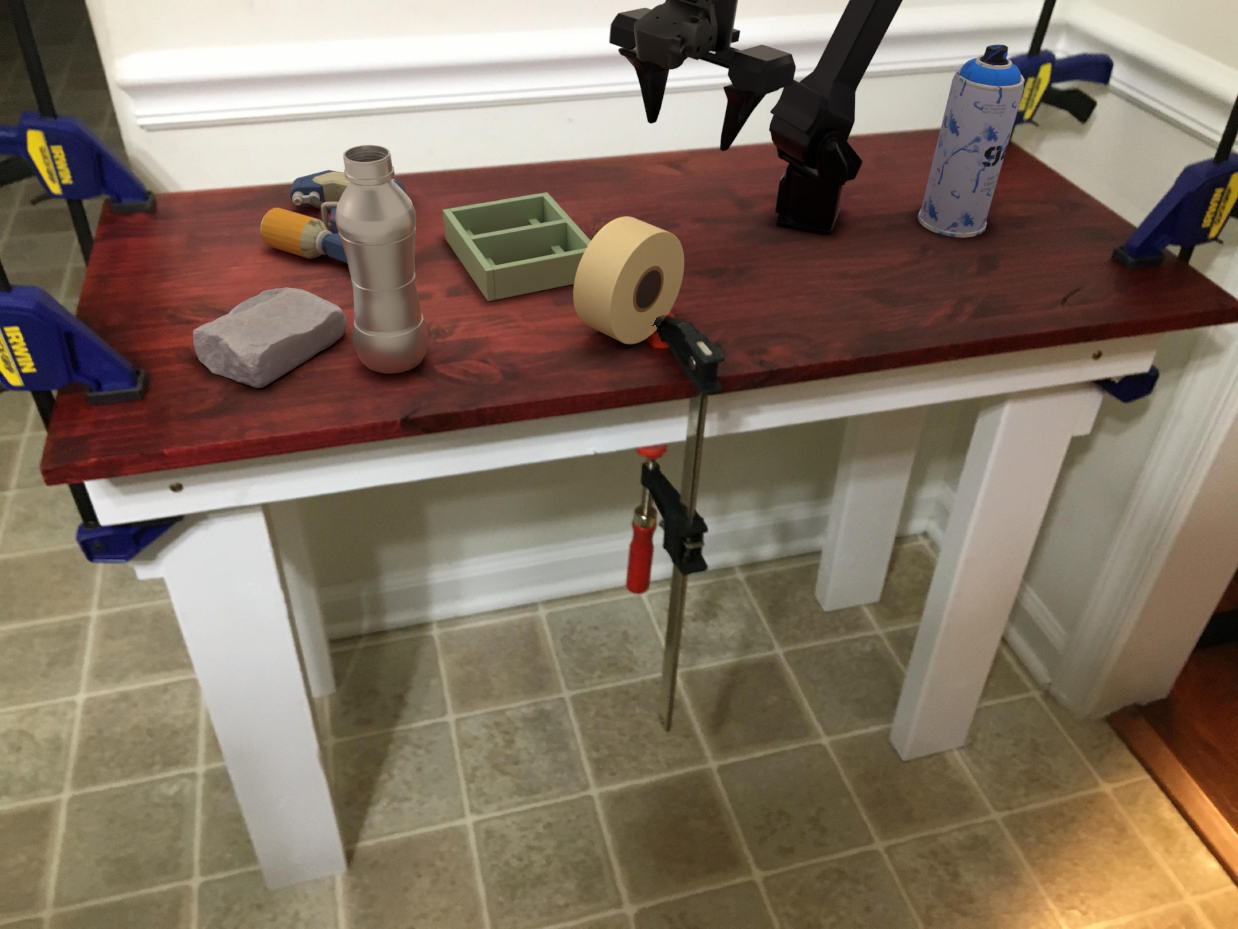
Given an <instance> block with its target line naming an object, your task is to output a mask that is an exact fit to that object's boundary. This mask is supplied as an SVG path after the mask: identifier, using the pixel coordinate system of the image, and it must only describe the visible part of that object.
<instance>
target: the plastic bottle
mask: <svg viewBox="0 0 1238 929" xmlns="http://www.w3.org/2000/svg"><path fill="white" fill-rule="evenodd" d="M342 160H343V164H344V170H343V171H344V172H343V173H344V174H345V178H346V179H347V180H348V181H349V182H350V183H349V184H348V186H347V188H346V189H345V191H344V192H343V194H342V196H341V198H340V200H339V203H338V205H337V209H336V215H335V220H336V224H337V229H338V231H339V235H340V238H341V241H342V245H343V248H344V251H345V254H346V257H347V262H348V264H347V265H348V266H347V268H348V271H349V276H350V281H351V285H352V294H353V313H354V315H353V316H354V319H353V326H352V340H353V341H352V344H353V347H354V349H355V352H356V355H357V358H358V359H359V361H360V362H361V363H362V364H363V365H364V366H365V367H367V368H368V369H369V370H371V371H373V372H377V373H379V374H389V375H390V374H400V373H404V372H407V371H410V370H412V369H415V368H416V367H418V366H419V365H420V364H421V363H422V361H423V359H424V358H425V357H426V355H427V353H428V350H429V349H428V348H429V338H430V336H429V331H428V327H427V324H426V319H425V317H424V315H423V313H422V307H421V303H420V298H419V292H418V287H417V282H416V262H415V261H416V260H415V259H416V258H415V251H416V234H417V211H416V209H415V207H414V206H415V205H414V204H413V202H412V199H411V197H409V196H408V194H407V193H405V192H406V191H405V192H404V191H403V190H402V189H401V188H400V187H399V186H398V185H397V184H396V183H395V182H394V181H393V180H392V179H394V177H395V175H396V174H395V167H394V165H393V161H392V160H393V159H392V153H391V151H390V150H389V149H388V148H387V147H385V146H382V145H376V144H363V145H355V146H353V147H349V148H348V149H346V150H345V151H344V152H343V155H342Z"/></svg>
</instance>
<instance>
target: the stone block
mask: <svg viewBox="0 0 1238 929" xmlns="http://www.w3.org/2000/svg"><path fill="white" fill-rule="evenodd" d="M347 318H348V317H347V316H346V314H345V312H344V311H343V310H342V309H341V307H339V306H338V305H337V304H335V303H332V302H330V301H328V300H326V299H324V298H322V297H320V296H318V295H316V294H314V293H311V292H310V291H307V290H304V289H302V288H292V287H286V286H285V287H281V288H278V287H277V288H275V287H274V288H272V289H265V290H263V291H261V292H260V293H258V294H257V295H255V296H253V297H249V298H247V299H246V300H244V301H242V302H240V303H238V304H237V305H236V306H234V307H233V308H232V309H231V310H230V311H229V313H227V314H224V315H222V316H220V317H218V318H216V319H215V320H214V319H213V321H209V322H207V323H204V324H202V325H200V326H198V327H197V328H194V329H193V330H192V338H193V342H192V343H193V346H194V351H195V353H196V356H197V358H198V361H199V362H200V363H201V364H203V365H204V366H205V367H206V368H207V369H208V370H209V371H210V373H212V374H213V375H216V376H217V375H218V376H222V377H224V378H227V379H231V380H233V381H236V382H237V383H239V384H244V385H247V386H250V387H251V388H255V389H262V388H265V387H266V386H268V385H270V384H271V383H273V382H274V381H276V380H277V379H279V378H281V377H283V376H284V375H286V374H288V373H289V372H290V371H292V370H294V369H296V368H297V367H298V366H300V365H301V364H303V363H305V362H307V361H309V360H310V359H312V358H313V357H314V356H316V354H319V353H320V352H322V351H324V350H326V349H328V348H329V347H331V346H332V345H334V344H335V343H336V342H338V341H339V340H340V339H341V338H342V337H343V336H344V335H345V334H346V329H347V322H348V319H347Z"/></svg>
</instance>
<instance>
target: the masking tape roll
mask: <svg viewBox="0 0 1238 929" xmlns="http://www.w3.org/2000/svg"><path fill="white" fill-rule="evenodd" d="M590 240H591V242H590V243H589V245H588V247H587V248H586V250H585V252H584V254H583V256H582V258H581V261H580V263H579V266H578V269H577V272H576V276H575V282H574V284H573V292H572V296H573V297H572V298H573V306H574V309H575V313H576V315H577V317H578V318H579V320H580V321H581V322H582V323H583V325H584V324H585V325H586V326H587V327H590V328H592V329H593V330H596V331H598V332H600V333H602V334H604V335H606V336H608V337H609V338H612V339H614V340H616V341H618V342H620V343H622V344H625V345H635V344H639V343H641V342H643V341H645V340H647V339H648V338H649V337H650V336H651V335H653V334H654V333H655V332H656V331H657V330H658V329H657V327H656V325H654V326H652V327H651V328H650V326H651V325H653V324H654V322H655V320H656V318H657V317H659V316H662V315H668V316H669V314H670V312H671V311H672V309H673V307H674V305H675V302H676V300H677V298H678V295H679V293H680V290H681V286H682V284H683V278H684V273H685V254H684V252H685V251H684V248H683V245H682V243H681V241H680V239H678V237H677V235H675V234H673V233H672V232H670V231H667V230H665V229H662V228H660V227H658V226H655V225H653V224H650V223H647V222H646V221H644V220H640V219H639V218H636V217H633V216H630V215H629V216H627V215H626V216H620V217H617V218H614V219H613V220H611V221H609V222H608V223H605V225H603V227H602V228H601V229H599V230H598V232H597V233H596V234H595V235H594V236H593V238H592V239H590Z"/></svg>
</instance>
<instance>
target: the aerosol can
mask: <svg viewBox="0 0 1238 929" xmlns="http://www.w3.org/2000/svg"><path fill="white" fill-rule="evenodd" d="M1008 52H1009V46H1007V45H1005V44H990V45H987V46H986V47H985V50H984V53H983V54H982V55H978V56H977V57H975V58H971V59H969V60H967V61H966V62H965V63H964V64H962V66H960V67H958V68H957V69H956V70H955V73H954V75H953V77H952V80H951V84H950V88H949V92H948V96H947V100H946V105H945V109H944V113H943V117H942V121H941V126H940V130H939V134H938V138H937V143H936V147H935V150H934V155H933V159H932V162H931V163H932V164H931V168H930V171H929V176H928V179H927V184H926V188H925V193H924V197H923V201H922V205H921V208H920V209H919V212H918V214H917V220H918V223H919V224H920V225H921V226H922V227H924V228H925V229H927V230H928V231H930V232H933V233H935V234H937V235H942V236H945V237H950V238H962V239H963V238H973V237H976V236H979V235H981V234H983V233H984V232H986V228H987V224H988V222H987V219H988V214H989V212H990V209H991V208H990V207H991V204H992V201H993V197H994V194H995V190H996V187H997V184H998V180H999V176H1000V174H1001V169H1002V166H1003V164H1004V160H1005V155H1006V152H1007V149H1008V146H1009V143H1010V142H1009V141H1010V139H1011V134H1012V131H1013V128H1014V125H1015V122H1016V118H1017V114H1018V112H1019V106H1020V103H1021V100H1022V96H1023V93H1024V89H1025V78H1024V76H1023V74H1022V73H1021V71H1020V69H1019V67H1018V66H1017V65H1016V64H1014V63H1013V61H1012V60H1011V59H1009V58H1008Z"/></svg>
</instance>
